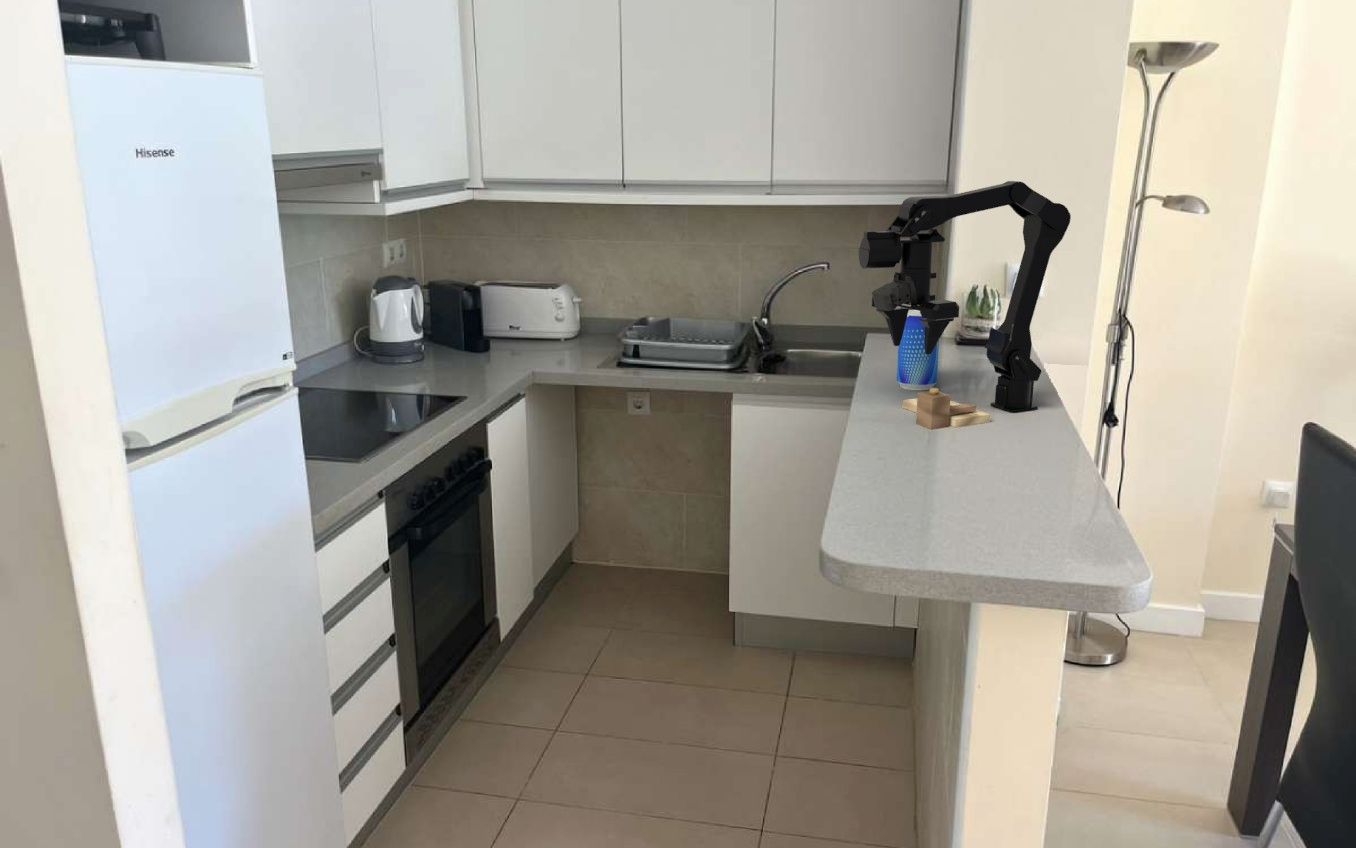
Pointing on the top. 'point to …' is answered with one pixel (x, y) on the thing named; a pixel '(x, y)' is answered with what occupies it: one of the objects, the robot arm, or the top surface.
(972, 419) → the board
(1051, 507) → the top surface
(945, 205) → the robot arm
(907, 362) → the beer can
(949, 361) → the top surface
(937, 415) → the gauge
